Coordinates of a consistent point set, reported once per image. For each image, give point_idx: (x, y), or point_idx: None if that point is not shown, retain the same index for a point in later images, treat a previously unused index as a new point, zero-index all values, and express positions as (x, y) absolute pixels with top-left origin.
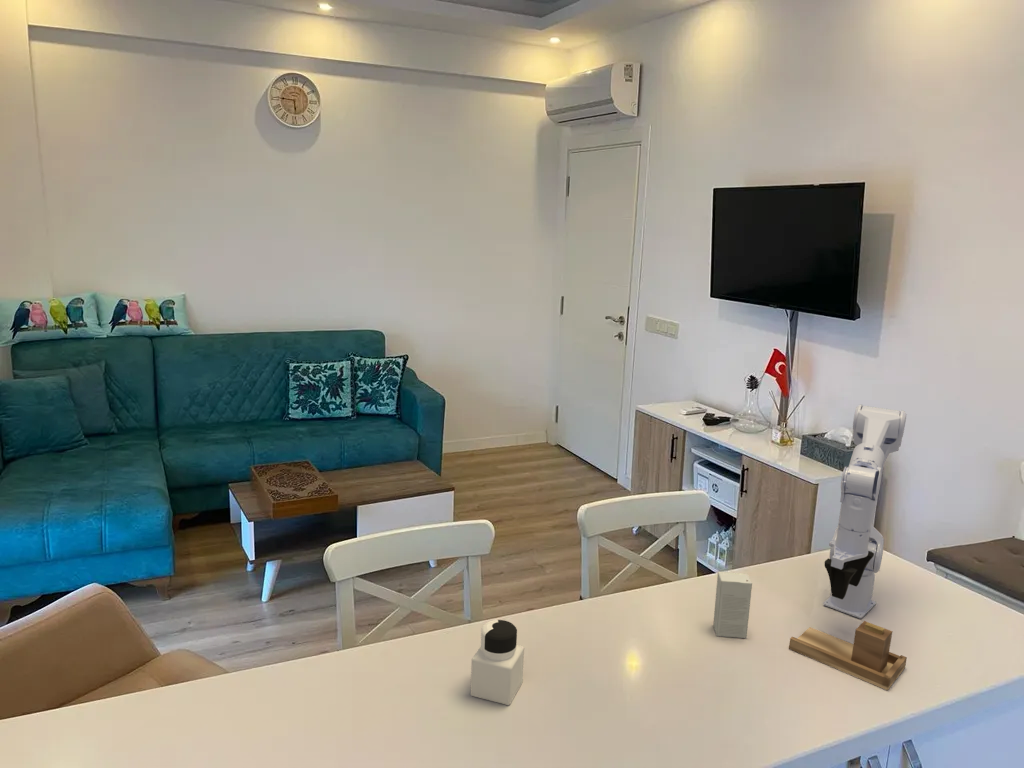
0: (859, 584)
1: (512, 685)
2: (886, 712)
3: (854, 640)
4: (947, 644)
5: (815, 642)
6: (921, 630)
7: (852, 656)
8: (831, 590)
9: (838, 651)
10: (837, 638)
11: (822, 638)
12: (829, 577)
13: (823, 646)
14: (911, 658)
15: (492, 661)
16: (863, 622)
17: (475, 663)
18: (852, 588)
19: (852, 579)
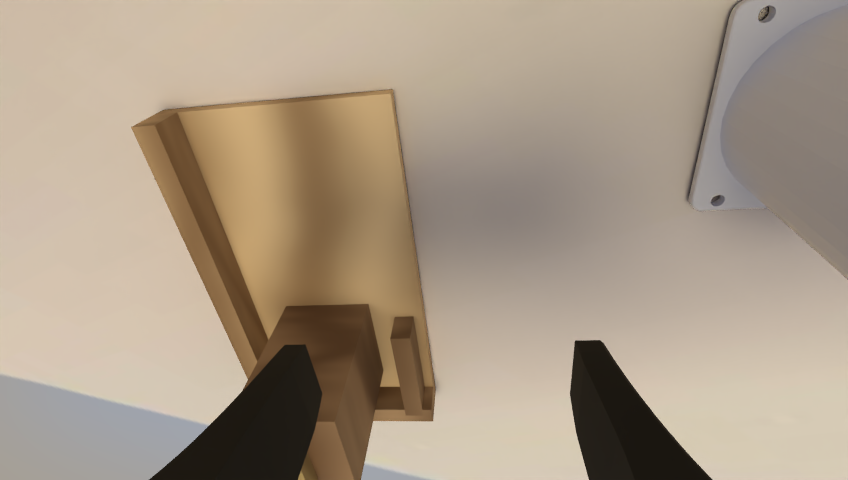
0: (840, 269)
1: None
2: (194, 407)
3: (248, 379)
4: (690, 427)
5: (291, 174)
6: (748, 366)
7: (276, 328)
8: (260, 372)
9: (317, 255)
10: (404, 218)
11: (347, 179)
12: (162, 470)
13: (295, 207)
14: (508, 387)
15: None
16: (316, 423)
17: None
18: (804, 218)
19: (580, 410)
